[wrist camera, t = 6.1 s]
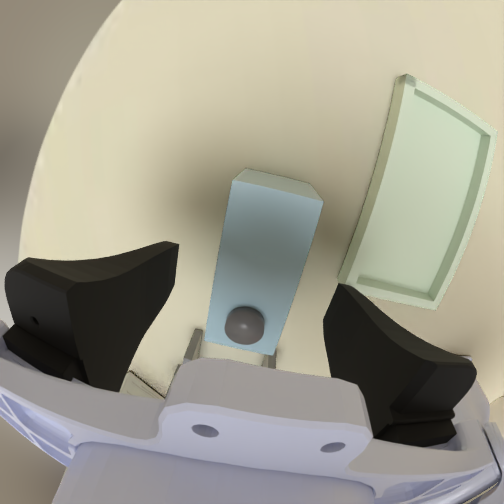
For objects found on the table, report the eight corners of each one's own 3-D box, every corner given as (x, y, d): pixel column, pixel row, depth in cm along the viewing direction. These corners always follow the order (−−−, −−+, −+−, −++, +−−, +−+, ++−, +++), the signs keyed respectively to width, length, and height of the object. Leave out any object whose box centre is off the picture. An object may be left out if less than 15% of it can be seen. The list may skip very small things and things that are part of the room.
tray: (484, 130, 13) (497, 131, 12) (427, 299, 19) (435, 310, 17) (395, 78, 13) (406, 73, 12) (337, 278, 19) (342, 290, 17)
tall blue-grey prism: (309, 183, 17) (326, 205, 11) (274, 303, 20) (272, 364, 14) (246, 167, 17) (229, 182, 11) (221, 291, 20) (201, 348, 14)
